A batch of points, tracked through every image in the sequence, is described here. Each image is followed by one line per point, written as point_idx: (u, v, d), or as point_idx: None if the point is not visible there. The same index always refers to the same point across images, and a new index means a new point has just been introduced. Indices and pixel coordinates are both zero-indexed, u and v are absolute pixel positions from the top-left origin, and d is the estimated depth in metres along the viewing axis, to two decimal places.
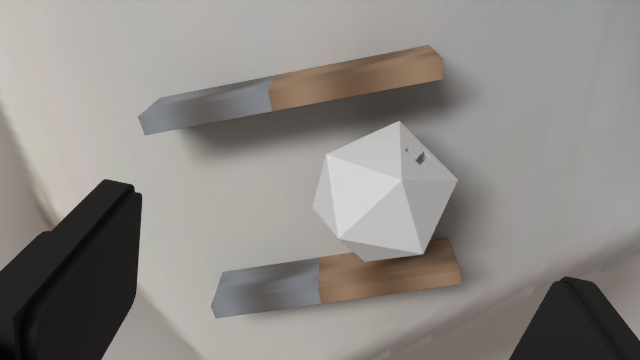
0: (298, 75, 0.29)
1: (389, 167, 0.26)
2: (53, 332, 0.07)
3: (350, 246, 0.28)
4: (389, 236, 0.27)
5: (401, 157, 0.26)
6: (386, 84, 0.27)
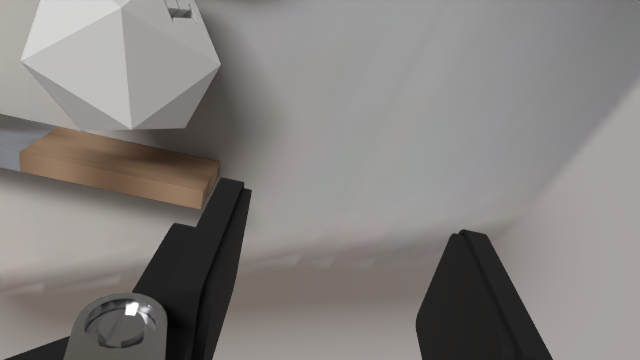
0: None
1: None
2: (214, 307, 0.08)
3: (45, 86, 0.20)
4: (92, 85, 0.20)
5: None
6: None
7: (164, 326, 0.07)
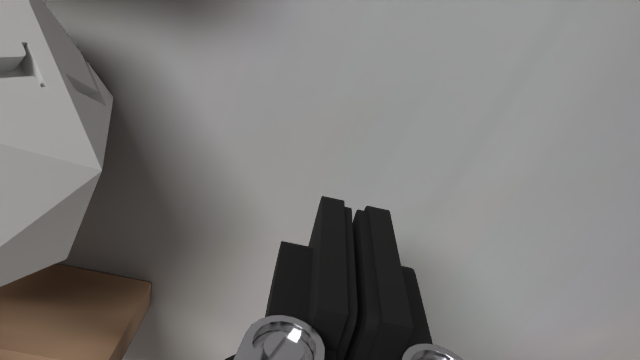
0: None
1: None
2: None
3: None
4: None
5: None
6: None
7: (323, 349, 0.07)
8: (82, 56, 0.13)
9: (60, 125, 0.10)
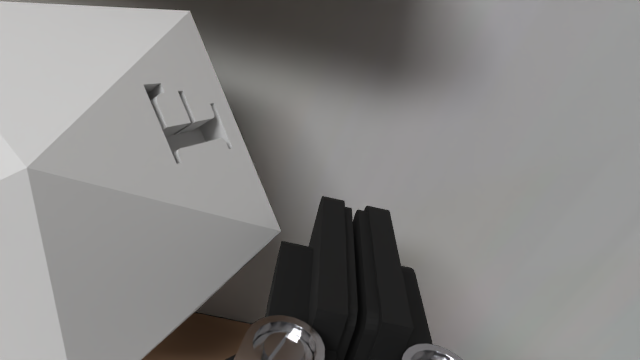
0: None
1: (33, 108, 0.07)
2: None
3: None
4: None
5: (105, 96, 0.08)
6: None
7: (323, 349, 0.07)
8: None
9: (246, 187, 0.10)
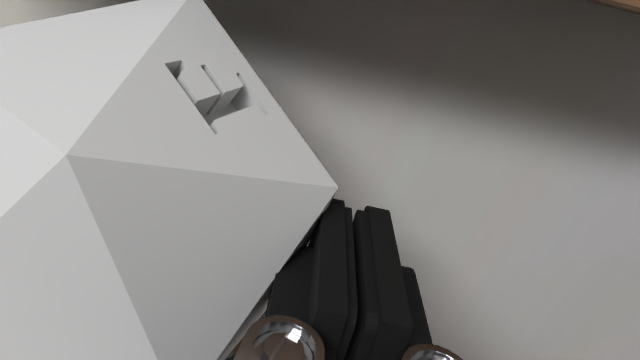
0: None
1: (62, 103, 0.07)
2: None
3: None
4: (61, 345, 0.08)
5: (128, 79, 0.07)
6: None
7: (323, 349, 0.07)
8: None
9: (292, 149, 0.09)
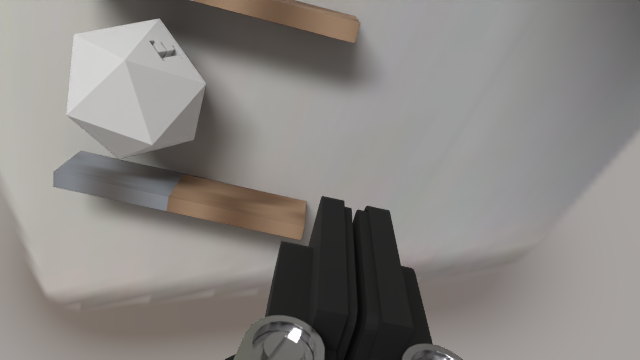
0: None
1: (121, 49, 0.26)
2: None
3: (86, 129, 0.28)
4: (118, 120, 0.27)
5: (139, 44, 0.27)
6: (305, 24, 0.28)
7: (322, 349, 0.07)
8: None
9: (190, 69, 0.29)
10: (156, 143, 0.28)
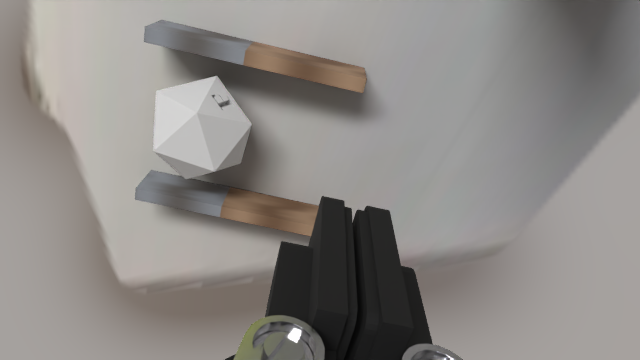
0: (269, 48, 0.40)
1: (193, 104, 0.37)
2: None
3: (166, 160, 0.38)
4: (190, 154, 0.37)
5: (205, 99, 0.37)
6: (325, 80, 0.38)
7: (323, 349, 0.07)
8: None
9: (240, 114, 0.39)
10: (217, 170, 0.38)
